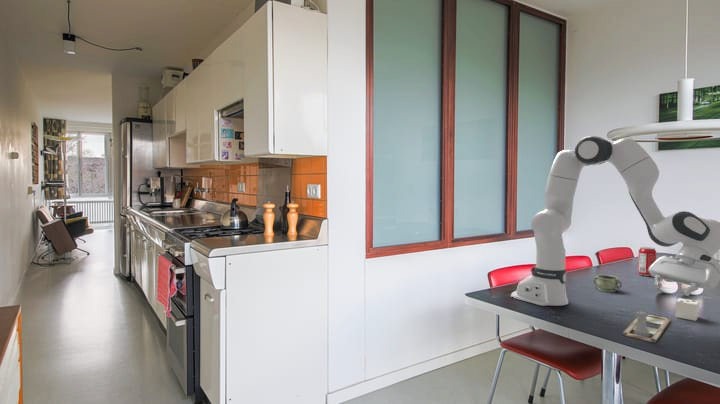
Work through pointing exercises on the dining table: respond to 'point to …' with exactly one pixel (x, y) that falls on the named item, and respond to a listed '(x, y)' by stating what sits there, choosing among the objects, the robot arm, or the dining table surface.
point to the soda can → (646, 260)
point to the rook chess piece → (641, 324)
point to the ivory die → (687, 309)
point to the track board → (654, 332)
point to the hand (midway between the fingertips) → (669, 290)
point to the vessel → (607, 283)
